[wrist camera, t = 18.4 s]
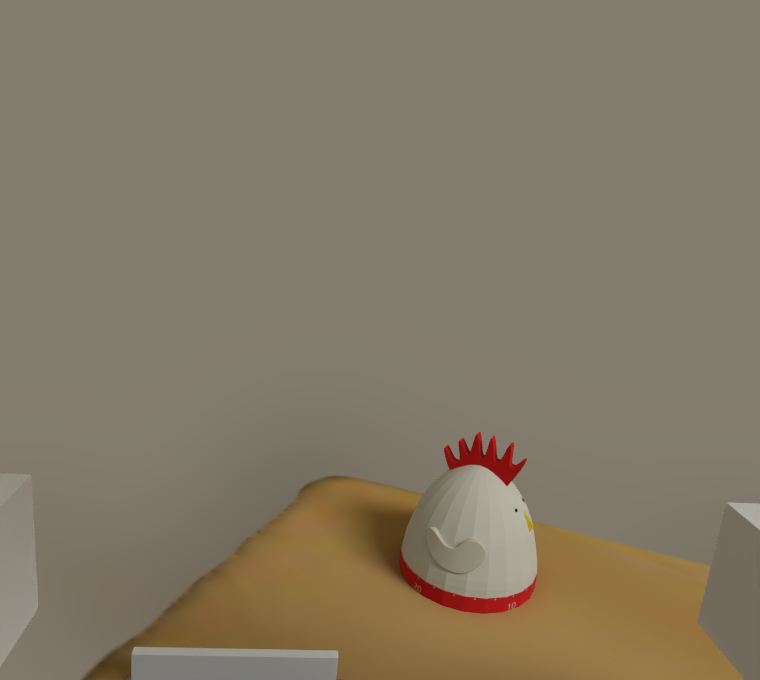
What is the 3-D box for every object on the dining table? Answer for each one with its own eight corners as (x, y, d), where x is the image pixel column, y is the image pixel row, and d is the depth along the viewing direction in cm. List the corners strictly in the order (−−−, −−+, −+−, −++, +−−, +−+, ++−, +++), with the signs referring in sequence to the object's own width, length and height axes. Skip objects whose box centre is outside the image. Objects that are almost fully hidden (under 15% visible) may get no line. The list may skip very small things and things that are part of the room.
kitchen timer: (513, 633, 58) (539, 481, 55) (376, 580, 64) (392, 439, 60) (547, 560, 70) (570, 431, 67) (430, 521, 76) (445, 400, 73)
